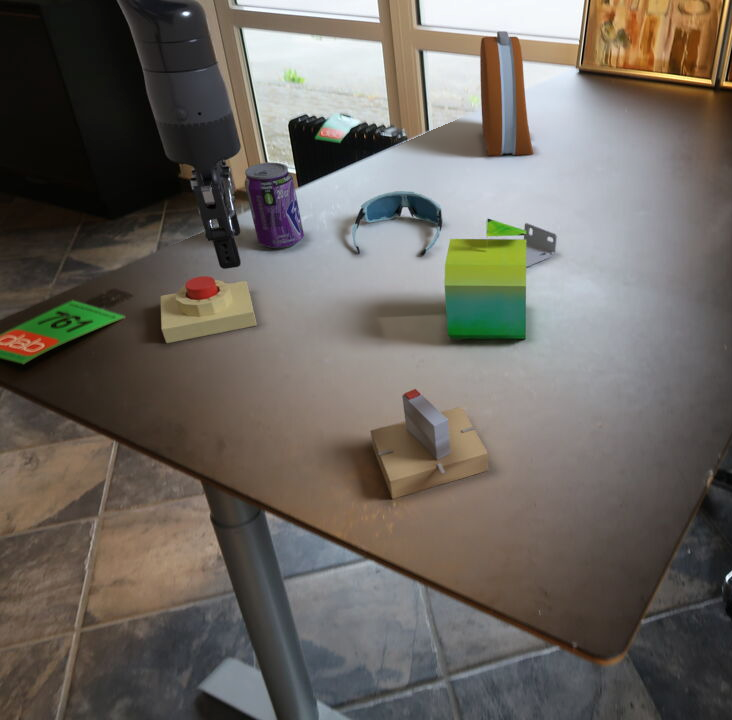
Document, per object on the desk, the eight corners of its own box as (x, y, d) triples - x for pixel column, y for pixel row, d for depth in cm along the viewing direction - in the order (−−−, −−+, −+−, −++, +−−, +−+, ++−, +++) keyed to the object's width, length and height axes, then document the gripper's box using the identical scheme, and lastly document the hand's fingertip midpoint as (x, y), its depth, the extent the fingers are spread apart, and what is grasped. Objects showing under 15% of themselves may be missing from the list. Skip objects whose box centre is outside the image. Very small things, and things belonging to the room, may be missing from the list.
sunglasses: (448, 217, 122) (446, 191, 119) (436, 267, 111) (433, 240, 108) (367, 214, 122) (362, 188, 119) (347, 264, 111) (341, 237, 108)
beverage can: (290, 254, 110) (275, 180, 103) (250, 248, 111) (232, 175, 104) (312, 234, 116) (299, 163, 109) (273, 229, 117) (258, 159, 110)
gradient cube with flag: (525, 347, 90) (526, 240, 81) (448, 346, 90) (441, 239, 81) (525, 303, 99) (526, 203, 90) (455, 303, 99) (449, 202, 90)
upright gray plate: (450, 453, 70) (447, 417, 67) (437, 460, 69) (433, 423, 67) (419, 422, 74) (415, 387, 71) (406, 428, 73) (401, 393, 70)
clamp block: (394, 507, 68) (391, 488, 66) (369, 441, 75) (366, 422, 74) (493, 477, 71) (492, 458, 70) (460, 417, 79) (459, 399, 77)
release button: (189, 303, 91) (185, 291, 90) (188, 290, 93) (184, 279, 92) (219, 298, 92) (215, 286, 91) (217, 285, 94) (213, 273, 93)
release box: (166, 343, 89) (156, 317, 87) (165, 309, 96) (156, 284, 94) (257, 325, 93) (250, 299, 91) (249, 294, 100) (243, 269, 97)
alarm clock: (536, 160, 146) (538, 43, 133) (489, 162, 145) (486, 44, 132) (524, 127, 164) (524, 21, 151) (481, 128, 163) (478, 21, 149)
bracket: (482, 262, 109) (482, 242, 107) (525, 241, 115) (525, 222, 113) (514, 276, 105) (514, 255, 103) (556, 254, 112) (557, 234, 110)
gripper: (231, 127, 69) (267, 273, 78) (231, 89, 80) (263, 221, 89) (146, 134, 67) (194, 283, 76) (159, 94, 77) (199, 229, 87)
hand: (231, 250), depth 83 cm, fingers open, 8 cm apart
